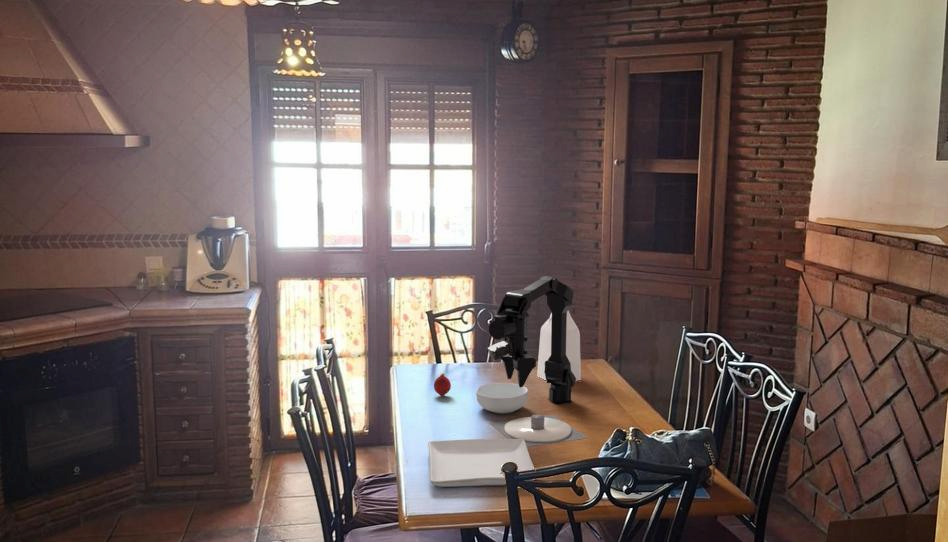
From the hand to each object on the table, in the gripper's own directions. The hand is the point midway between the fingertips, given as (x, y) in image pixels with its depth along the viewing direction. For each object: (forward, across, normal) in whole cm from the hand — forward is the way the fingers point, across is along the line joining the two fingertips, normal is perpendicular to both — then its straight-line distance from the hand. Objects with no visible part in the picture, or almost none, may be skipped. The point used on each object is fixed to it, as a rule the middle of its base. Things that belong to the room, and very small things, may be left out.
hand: (515, 382), depth 252 cm
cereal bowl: (+13, -13, +1) cm, 19 cm away
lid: (+13, +9, +4) cm, 16 cm away
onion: (+13, -34, -13) cm, 38 cm away
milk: (+13, -39, +34) cm, 54 cm away
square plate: (+14, +30, -22) cm, 40 cm away
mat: (+13, +9, +4) cm, 16 cm away
